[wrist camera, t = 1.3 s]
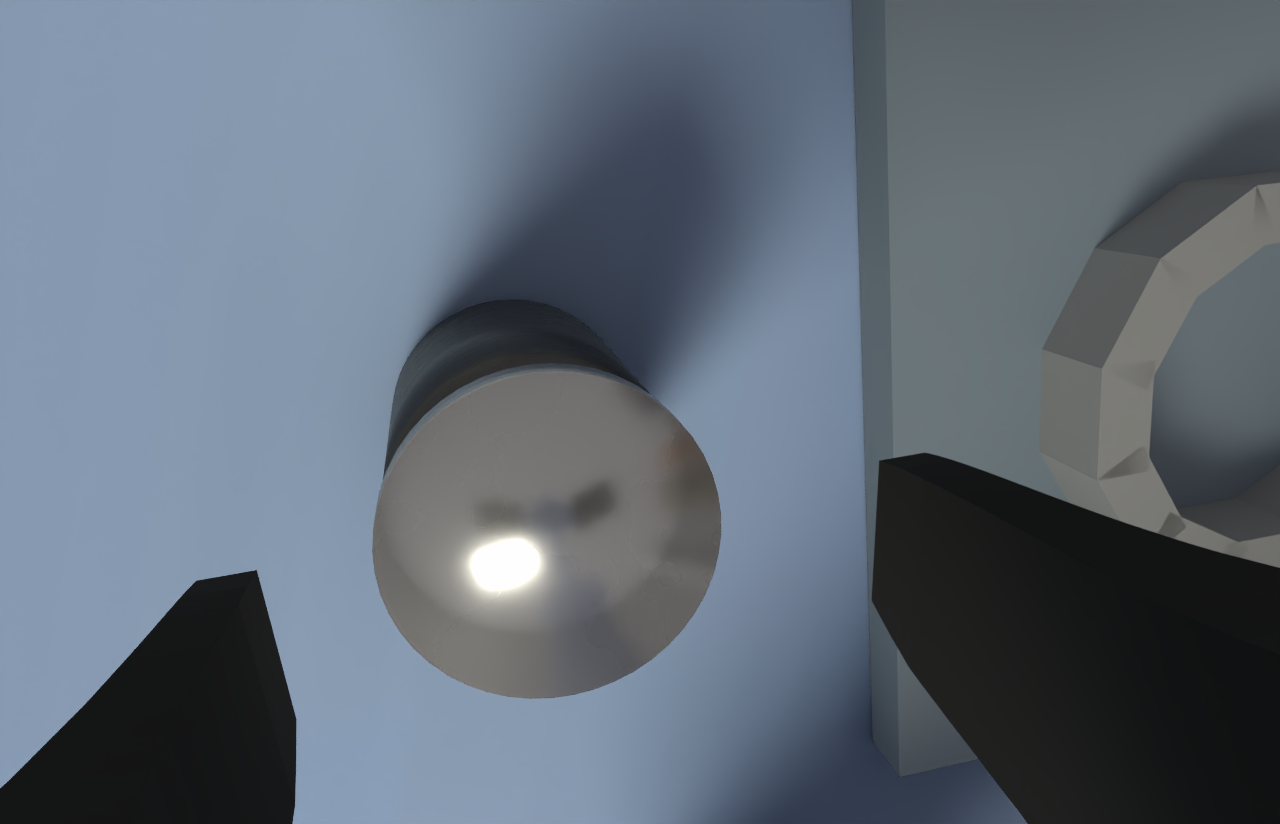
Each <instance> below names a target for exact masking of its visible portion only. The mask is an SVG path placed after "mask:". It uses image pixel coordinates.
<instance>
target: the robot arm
mask: <svg viewBox="0 0 1280 824" xmlns="http://www.w3.org/2000/svg"><path fill="white" fill-rule="evenodd" d="M872 602H873V604H874V606H875V608H876V610H877V612H878V613H879V615H880V617H881V619H882V621H883V623H884V625H885V627H886V628H887V630H888V632H889V634H890V636H891V638H892V639H893V641H894V643H895V644H896V646H897V648H898V650H899V651H900V653H901V655H902V656H903V658H904V660H905V662H906V663H907V665H908V667H909V668H910V670H911V671H912V672H913V674H914V675H915V676H916V678H917V679H918V680H919V682H920V683H921V685H922V686H923V687H924V689H925V690H926V691H927V692H928V694H929V695H930V696H931V698H932V699H933V700H934V702H935V703H936V704H937V706H938V707H939V708H940V710H941V711H942V712H943V714H944V715H945V716H946V718H947V719H948V720H949V722H950V723H951V724H952V725H953V727H954V728H955V729H956V731H957V732H958V733H959V734H960V736H961V737H962V738H963V740H964V741H965V742H966V743H967V745H968V746H969V747H970V749H971V750H972V751H973V753H974V754H975V755H976V756H977V758H978V759H979V760H980V762H981V763H982V764H983V765H984V767H985V768H986V769H987V771H988V772H989V773H990V775H991V776H992V777H993V778H994V780H995V781H996V782H997V784H998V785H999V786H1000V787H1001V789H1002V790H1003V791H1004V793H1005V794H1006V795H1007V797H1008V798H1009V799H1010V800H1011V802H1012V803H1013V804H1014V806H1015V807H1016V808H1017V809H1018V811H1019V812H1020V813H1021V815H1022V816H1023V818H1024V819H1025V820H1026V822H1027V823H1028V824H1280V568H1279V567H1275V566H1271V565H1267V564H1263V563H1259V562H1255V561H1251V560H1247V559H1243V558H1240V557H1236V556H1232V555H1228V554H1224V553H1220V552H1217V551H1213V550H1210V549H1206V548H1203V547H1200V546H1196V545H1193V544H1189V543H1186V542H1183V541H1180V540H1177V539H1174V538H1171V537H1167V536H1164V535H1161V534H1158V533H1155V532H1152V531H1149V530H1146V529H1143V528H1140V527H1136V526H1133V525H1130V524H1127V523H1125V522H1122V521H1119V520H1116V519H1113V518H1110V517H1107V516H1104V515H1102V514H1099V513H1096V512H1093V511H1090V510H1088V509H1085V508H1082V507H1079V506H1077V505H1074V504H1071V503H1069V502H1066V501H1063V500H1061V499H1058V498H1055V497H1052V496H1050V495H1047V494H1044V493H1042V492H1039V491H1037V490H1034V489H1031V488H1029V487H1026V486H1023V485H1021V484H1018V483H1015V482H1013V481H1010V480H1007V479H1005V478H1002V477H999V476H997V475H994V474H991V473H989V472H986V471H983V470H980V469H977V468H975V467H972V466H969V465H966V464H963V463H960V462H957V461H954V460H951V459H948V458H944V457H941V456H937V455H933V454H929V453H919V454H914V455H908V456H902V457H897V458H891V459H885V460H880V461H879V472H878V490H877V509H876V527H875V546H874V564H873V582H872ZM295 782H296V717H295V713H294V709H293V705H292V701H291V698H290V694H289V690H288V686H287V683H286V679H285V675H284V671H283V668H282V664H281V660H280V656H279V653H278V649H277V645H276V641H275V638H274V634H273V630H272V626H271V623H270V619H269V615H268V611H267V608H266V604H265V600H264V596H263V593H262V589H261V585H260V581H259V577H258V574H257V570H255V571H250V572H244V573H238V574H233V575H227V576H221V577H216V578H210V579H204V580H199V581H196V582H195V583H194V584H193V585H192V586H191V587H190V588H189V589H188V590H187V591H186V592H185V593H184V594H183V595H182V597H181V598H180V599H179V600H178V601H177V602H176V603H175V604H174V606H173V607H172V608H171V609H170V610H169V611H168V612H167V614H166V615H165V616H164V617H163V618H162V619H161V620H160V622H159V623H158V624H157V625H156V626H155V627H154V628H153V630H152V631H151V632H150V633H149V634H148V635H147V636H146V638H145V639H144V640H143V641H142V642H141V643H140V644H139V646H138V647H137V648H136V649H135V650H134V651H133V652H132V653H131V655H130V656H129V657H128V658H127V659H126V660H125V661H124V662H123V663H122V664H121V666H120V667H119V668H118V669H117V670H116V671H115V672H114V673H113V674H112V675H111V677H110V678H109V679H108V680H107V681H106V682H105V683H104V684H103V685H102V686H101V688H100V689H99V690H98V691H97V692H96V693H95V694H94V695H93V696H92V698H91V699H90V700H89V701H88V702H87V703H86V704H85V705H84V706H83V707H82V708H81V709H80V710H79V711H78V712H77V713H76V714H75V715H74V716H73V717H72V718H71V719H70V720H69V721H68V722H67V723H66V724H65V725H64V726H63V727H62V728H61V729H60V730H59V731H58V732H57V733H56V734H55V735H54V736H53V737H52V738H51V739H50V740H49V741H48V742H47V743H46V744H45V745H44V746H43V747H42V748H41V749H40V750H39V751H38V752H37V753H36V754H35V755H34V756H33V757H32V758H31V759H30V760H29V761H28V762H27V763H26V764H25V765H24V766H23V767H22V768H21V769H20V770H19V771H18V772H17V773H16V774H15V775H14V776H13V777H12V778H11V779H10V780H9V781H8V782H7V783H6V784H5V785H4V786H3V787H2V788H0V824H292V822H293V815H294V808H295Z"/></svg>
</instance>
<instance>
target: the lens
mask: <svg viewBox="0 0 1280 824" xmlns="http://www.w3.org/2000/svg"><path fill="white" fill-rule="evenodd" d="M720 538H721V511H720V504H719V497H718V492H717V489H716V485H715V482H714V478H713V475H712V472H711V470H710V468H709V466H708V463H707V461H706V459H705V457H704V455H703V453H702V451H701V450H700V448H699V447H698V445H697V444H696V442H695V440H694V439H693V437H692V436H691V435H690V434H689V433H688V431H687V430H686V429H685V428H684V427H683V425H682V424H681V423H680V422H679V421H678V420H677V419H676V417H675V416H674V415H673V414H672V413H671V412H670V411H669V410H668V409H667V408H666V407H665V406H663V405H662V404H661V403H660V402H659V401H658V400H657V399H656V398H654V397H653V396H652V395H650V394H649V393H648V391H647V390H646V389H645V388H644V387H643V386H642V385H641V384H640V383H639V381H638V380H637V379H636V378H635V377H634V376H633V375H632V374H631V373H630V371H629V370H628V369H627V368H626V367H625V366H624V365H623V364H622V362H621V361H620V360H619V359H618V358H617V357H616V356H615V355H614V354H613V352H612V351H611V350H610V349H609V348H608V347H607V346H606V345H605V344H604V342H603V341H602V340H601V339H600V338H599V337H598V336H597V335H596V334H595V333H594V332H593V331H592V330H591V329H590V328H589V327H587V326H586V325H585V324H584V323H582V322H581V321H579V320H578V319H576V318H575V317H574V316H572V315H570V314H568V313H566V312H564V311H562V310H560V309H558V308H555V307H552V306H549V305H546V304H542V303H538V302H533V301H526V300H498V301H492V302H487V303H481V304H478V305H475V306H472V307H469V308H466V309H464V310H462V311H460V312H458V313H456V314H454V315H452V316H450V317H449V318H447V319H446V320H444V321H442V322H441V323H439V324H438V325H437V326H436V327H435V328H433V329H432V330H431V331H430V332H429V333H428V334H426V335H425V337H424V338H423V339H422V340H421V341H420V342H419V343H418V344H417V346H416V347H415V348H414V350H413V351H412V353H411V354H410V356H409V357H408V359H407V361H406V363H405V365H404V367H403V369H402V371H401V373H400V375H399V379H398V382H397V385H396V388H395V393H394V398H393V404H392V412H391V420H390V428H389V436H388V444H387V453H386V461H385V469H384V477H383V482H382V485H381V488H380V492H379V496H378V502H377V507H376V513H375V520H374V527H373V550H372V552H373V561H374V570H375V576H376V579H377V583H378V587H379V591H380V594H381V597H382V599H383V601H384V604H385V606H386V608H387V611H388V613H389V615H390V617H391V618H392V620H393V622H394V623H395V625H396V626H397V628H398V630H399V631H400V633H401V634H402V635H403V636H404V638H405V639H406V640H407V641H408V642H409V644H410V645H411V646H412V647H413V648H414V649H415V650H416V651H417V652H418V653H419V654H420V655H421V656H422V657H423V658H425V659H426V660H427V661H428V662H429V663H430V664H432V665H433V666H435V667H436V668H438V669H439V670H441V671H442V672H443V673H445V674H446V675H448V676H450V677H452V678H454V679H456V680H458V681H460V682H462V683H464V684H466V685H469V686H471V687H474V688H477V689H480V690H483V691H486V692H489V693H494V694H499V695H503V696H508V697H518V698H529V699H531V698H555V697H562V696H569V695H575V694H578V693H582V692H586V691H590V690H594V689H596V688H599V687H602V686H604V685H607V684H609V683H612V682H615V681H616V680H618V679H620V678H622V677H624V676H626V675H628V674H630V673H632V672H634V671H635V670H637V669H638V668H640V667H641V666H643V665H644V664H646V663H647V662H649V661H650V660H652V659H653V658H654V657H655V656H656V655H657V654H659V653H660V652H661V651H662V650H663V649H664V648H666V647H667V646H668V645H669V644H670V643H671V642H672V641H673V639H674V638H675V637H676V636H677V635H678V634H679V633H680V632H681V631H682V630H683V628H684V627H685V626H686V624H687V623H688V622H689V620H690V619H691V617H692V616H693V615H694V613H695V612H696V610H697V608H698V606H699V605H700V603H701V601H702V599H703V597H704V596H705V594H706V591H707V589H708V586H709V584H710V581H711V579H712V576H713V573H714V570H715V566H716V562H717V558H718V554H719V546H720Z"/></svg>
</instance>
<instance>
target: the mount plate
mask: <svg viewBox="0 0 1280 824" xmlns="http://www.w3.org/2000/svg"><path fill="white" fill-rule="evenodd" d="M852 16H853V52H854V88H855V124H856V160H857V197H858V233H859V269H860V305H861V341H862V377H863V413H864V450H865V486H866V522H867V558H868V594H869V630H870V666H871V702H872V739H873V743H874V744H875V745H876V747H877V748H878V749H879V751H880V752H881V753H882V755H883V756H884V757H885V759H886V760H887V761H888V763H889V764H890V765H891V767H892V768H893V769H894V771H895V772H896V773H897V775H898V776H899V777H903V776H907V775H912V774H916V773H921V772H925V771H929V770H934V769H938V768H943V767H947V766H951V765H956V764H960V763H964V762H969V761H973V760H978V758H977V756H976V755H975V754H974V753H973V751H972V750H971V749H970V747H969V746H968V745H967V743H966V742H965V741H964V740H963V738H962V737H961V736H960V734H959V733H958V732H957V731H956V729H955V728H954V727H953V725H952V724H951V723H950V722H949V720H948V719H947V718H946V716H945V715H944V714H943V712H942V711H941V710H940V708H939V707H938V706H937V704H936V703H935V702H934V700H933V699H932V698H931V696H930V695H929V694H928V692H927V691H926V690H925V689H924V687H923V686H922V685H921V683H920V682H919V680H918V679H917V678H916V676H915V675H914V674H913V672H912V671H911V670H910V668H909V667H908V665H907V663H906V662H905V660H904V658H903V656H902V655H901V653H900V651H899V650H898V648H897V646H896V644H895V643H894V641H893V639H892V638H891V636H890V634H889V632H888V630H887V628H886V627H885V625H884V623H883V621H882V619H881V617H880V615H879V613H878V612H877V610H876V608H875V606H874V604H873V602H872V582H873V564H874V546H875V527H876V509H877V490H878V472H879V461H880V460H885V459H891V458H897V457H902V456H908V455H914V454H919V453H929V454H933V455H937V456H941V457H944V458H948V459H951V460H954V461H957V462H960V463H963V464H966V465H969V466H972V467H975V468H977V469H980V470H983V471H986V472H989V473H991V474H994V475H997V476H999V477H1002V478H1005V479H1007V480H1010V481H1013V482H1015V483H1018V484H1021V485H1023V486H1026V487H1029V488H1031V489H1034V490H1037V491H1039V492H1042V493H1044V494H1047V495H1050V496H1052V497H1055V498H1058V499H1061V500H1063V501H1066V502H1069V503H1071V504H1074V505H1077V506H1079V507H1082V508H1085V509H1088V510H1090V511H1093V512H1096V513H1099V514H1102V515H1104V516H1107V517H1110V518H1113V519H1116V520H1119V521H1122V522H1125V523H1127V524H1130V525H1133V526H1136V527H1140V528H1143V529H1146V530H1149V531H1152V532H1155V533H1158V534H1161V535H1164V536H1167V537H1171V538H1174V539H1177V540H1180V541H1183V542H1186V543H1189V544H1193V545H1196V546H1200V547H1203V548H1206V549H1210V550H1213V551H1217V552H1220V553H1224V554H1228V555H1232V556H1236V557H1240V558H1243V559H1247V560H1251V561H1255V562H1259V563H1263V564H1267V565H1271V566H1275V567H1279V568H1280V0H852Z"/></svg>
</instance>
